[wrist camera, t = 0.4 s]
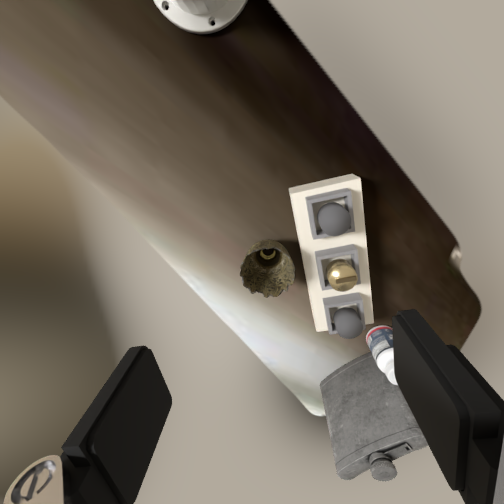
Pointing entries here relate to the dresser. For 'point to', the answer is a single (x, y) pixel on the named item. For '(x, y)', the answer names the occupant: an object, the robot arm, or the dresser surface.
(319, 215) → the button
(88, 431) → the robot arm
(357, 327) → the button
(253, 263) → the olive hollow bell-shaped piece
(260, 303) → the dresser surface
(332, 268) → the brass knob
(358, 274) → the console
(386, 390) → the flask
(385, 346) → the pill bottle
